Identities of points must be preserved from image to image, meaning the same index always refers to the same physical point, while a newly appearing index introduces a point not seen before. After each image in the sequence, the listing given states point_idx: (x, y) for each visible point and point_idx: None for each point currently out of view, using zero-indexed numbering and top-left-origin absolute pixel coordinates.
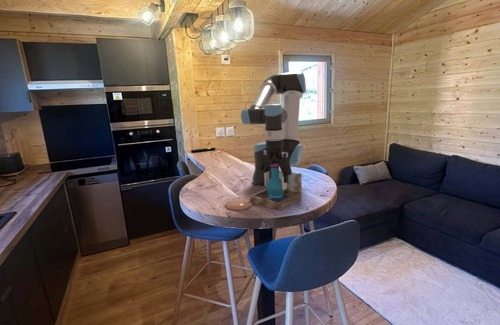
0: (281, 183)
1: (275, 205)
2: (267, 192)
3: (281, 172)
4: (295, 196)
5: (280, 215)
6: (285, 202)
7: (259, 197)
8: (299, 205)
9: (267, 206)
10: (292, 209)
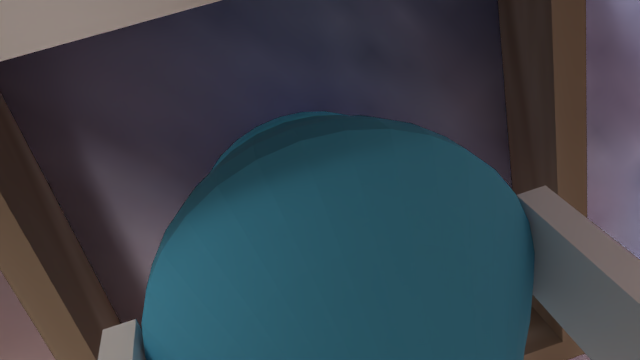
0: (526, 317)
1: None
2: (29, 193)
3: (61, 28)
4: (576, 32)
5: None
6: None
7: None
8: (629, 65)
9: None
10: (624, 200)
